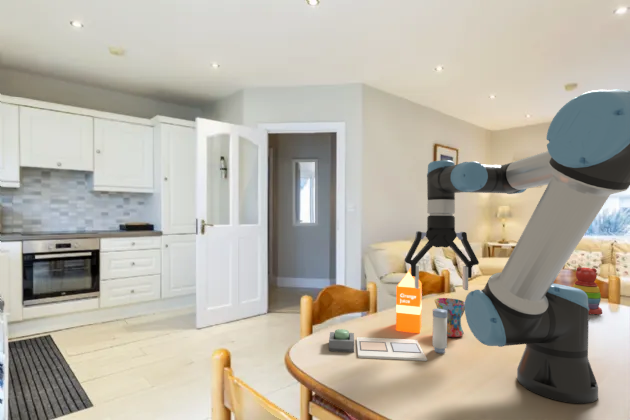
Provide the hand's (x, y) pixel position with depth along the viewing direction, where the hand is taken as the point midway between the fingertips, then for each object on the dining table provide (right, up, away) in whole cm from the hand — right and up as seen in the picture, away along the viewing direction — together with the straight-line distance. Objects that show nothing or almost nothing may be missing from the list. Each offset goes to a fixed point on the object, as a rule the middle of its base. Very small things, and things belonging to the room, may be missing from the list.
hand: (440, 288), depth 103 cm
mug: (+8, -18, +13) cm, 23 cm away
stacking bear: (+73, -19, +41) cm, 86 cm away
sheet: (-15, -17, -1) cm, 23 cm away
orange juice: (-4, -17, +18) cm, 25 cm away
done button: (-29, -14, 0) cm, 32 cm away
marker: (-1, -17, -2) cm, 17 cm away
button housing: (-29, -17, 0) cm, 33 cm away
